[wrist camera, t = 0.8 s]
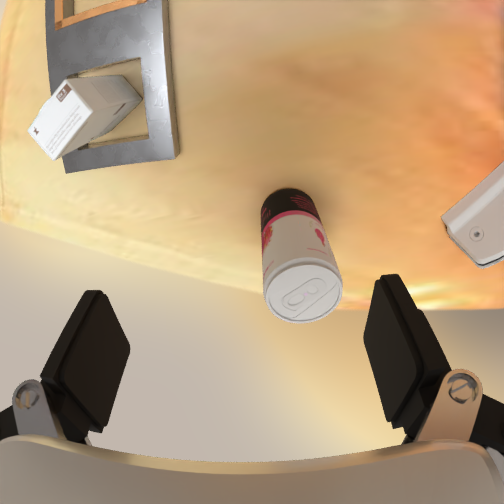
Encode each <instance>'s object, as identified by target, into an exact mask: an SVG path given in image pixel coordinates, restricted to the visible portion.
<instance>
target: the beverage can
mask: <svg viewBox="0 0 504 504" xmlns="http://www.w3.org/2000/svg"><path fill="white" fill-rule="evenodd" d="M261 237H262V265H263V294H264V298H265V301H266V303H267V306H268V308H269V310H270V311H271V312H272V313H273V314H274V315H275V316H276V317H278V318H280V319H282V320H284V321H287V322H291V323H309V322H313V321H316V320H319V319H321V318H323V317H325V316H326V315H328V314H329V313H331V312H332V311H333V310H334V309H335V308H336V307H337V305H338V304H339V302H340V300H341V297H342V278H341V275H340V272H339V269H338V266H337V263H336V261H335V258H334V255H333V252H332V250H331V247H330V244H329V241H328V239H327V236H326V233H325V231H324V228H323V226H322V223H321V220H320V218H319V215H318V213H317V210H316V208H315V205H314V203H313V201H312V199H311V198H310V197H309V196H308V195H307V194H305V193H304V192H302V191H300V190H296V189H282V190H279V191H276V192H275V193H273V194H271V195H270V196H269V197H268V198H267V199H266V200H265V202H264V204H263V206H262V209H261Z"/></svg>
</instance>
